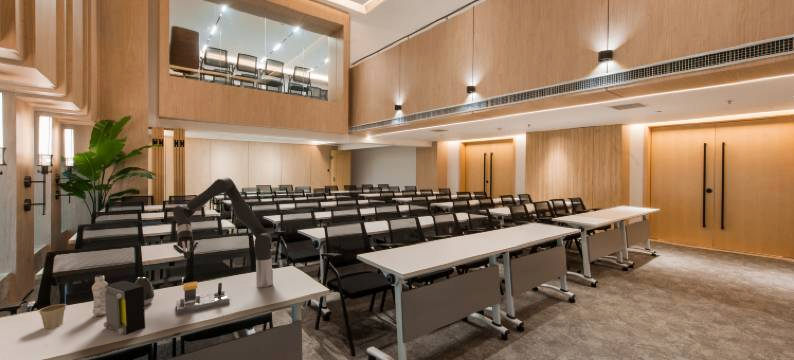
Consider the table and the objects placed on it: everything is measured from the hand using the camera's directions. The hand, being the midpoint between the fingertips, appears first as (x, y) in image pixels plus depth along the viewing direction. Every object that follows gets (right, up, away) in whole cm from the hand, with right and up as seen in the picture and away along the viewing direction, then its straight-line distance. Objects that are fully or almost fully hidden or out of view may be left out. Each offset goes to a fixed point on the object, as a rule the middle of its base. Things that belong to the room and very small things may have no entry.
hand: (187, 258), depth 191 cm
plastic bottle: (-32, -25, -19) cm, 45 cm away
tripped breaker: (+9, -20, -11) cm, 24 cm away
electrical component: (-9, -25, -33) cm, 42 cm away
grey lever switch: (+14, -24, -7) cm, 28 cm away
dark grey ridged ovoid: (-21, -24, -6) cm, 32 cm away
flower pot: (-45, -25, -30) cm, 60 cm away
